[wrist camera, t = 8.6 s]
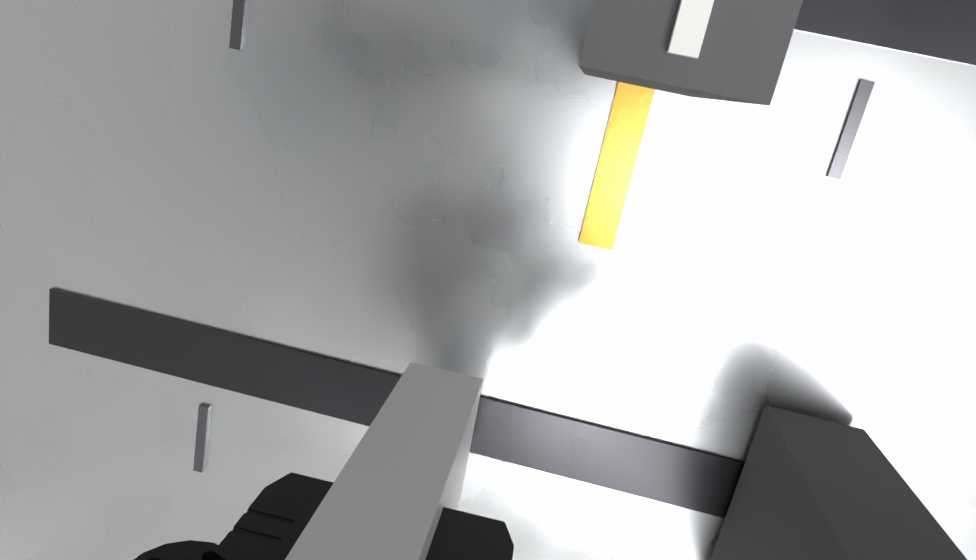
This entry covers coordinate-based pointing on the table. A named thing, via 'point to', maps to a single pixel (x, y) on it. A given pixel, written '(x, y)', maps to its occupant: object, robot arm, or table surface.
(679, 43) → the fader
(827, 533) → the fader tab
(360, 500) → the robot arm
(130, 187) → the console
